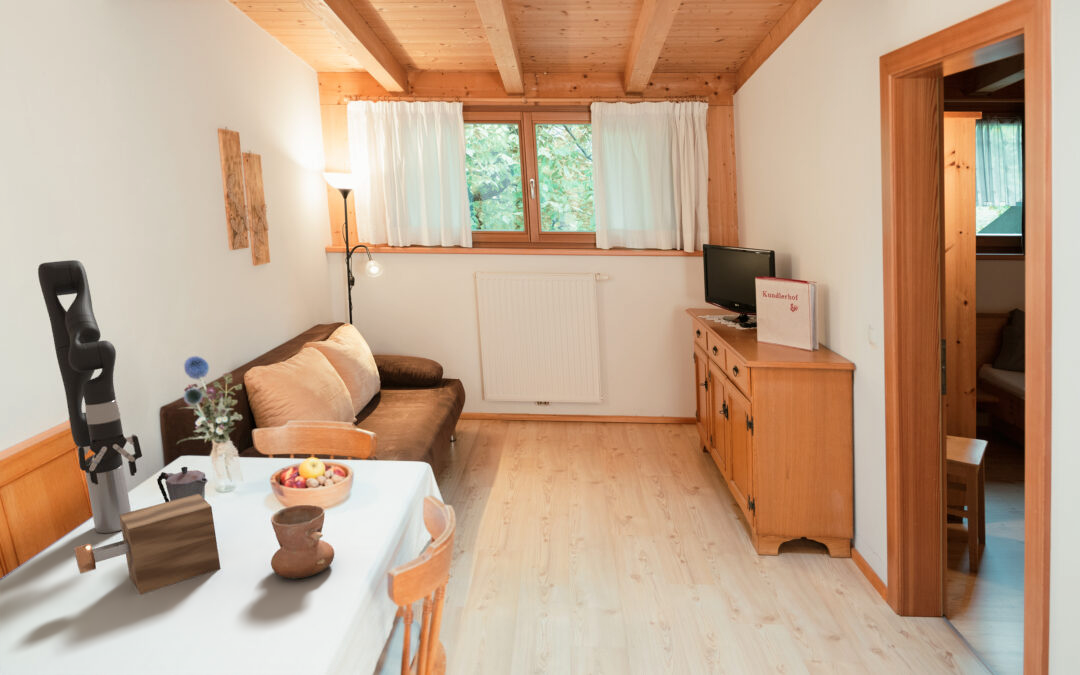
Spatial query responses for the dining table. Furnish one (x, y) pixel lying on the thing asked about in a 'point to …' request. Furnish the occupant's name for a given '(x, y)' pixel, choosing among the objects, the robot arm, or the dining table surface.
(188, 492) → the moka pot
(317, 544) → the ceramic jug
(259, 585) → the dining table surface
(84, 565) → the plunger
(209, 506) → the press housing
